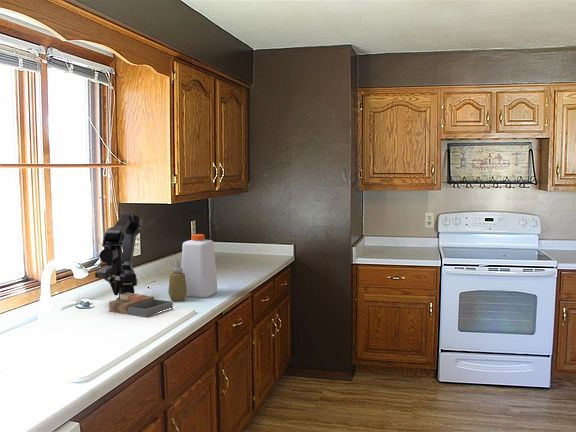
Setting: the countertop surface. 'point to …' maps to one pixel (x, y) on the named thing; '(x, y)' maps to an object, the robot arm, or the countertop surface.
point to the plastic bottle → (199, 267)
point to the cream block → (126, 295)
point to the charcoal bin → (149, 307)
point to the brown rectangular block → (125, 304)
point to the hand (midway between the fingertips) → (116, 295)
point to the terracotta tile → (136, 297)
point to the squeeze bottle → (177, 284)
